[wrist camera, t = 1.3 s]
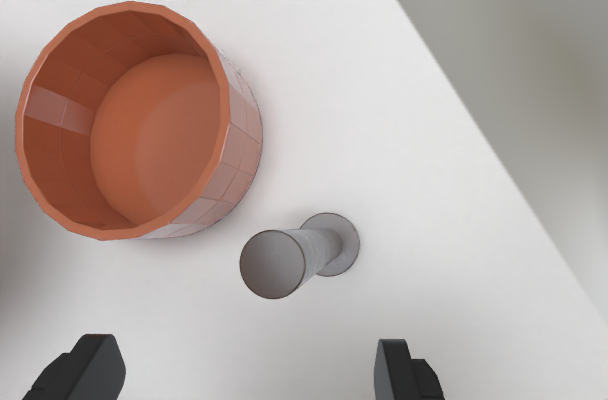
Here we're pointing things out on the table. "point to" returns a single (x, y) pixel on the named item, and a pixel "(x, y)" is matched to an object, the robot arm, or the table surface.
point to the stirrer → (298, 255)
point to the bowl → (136, 126)
